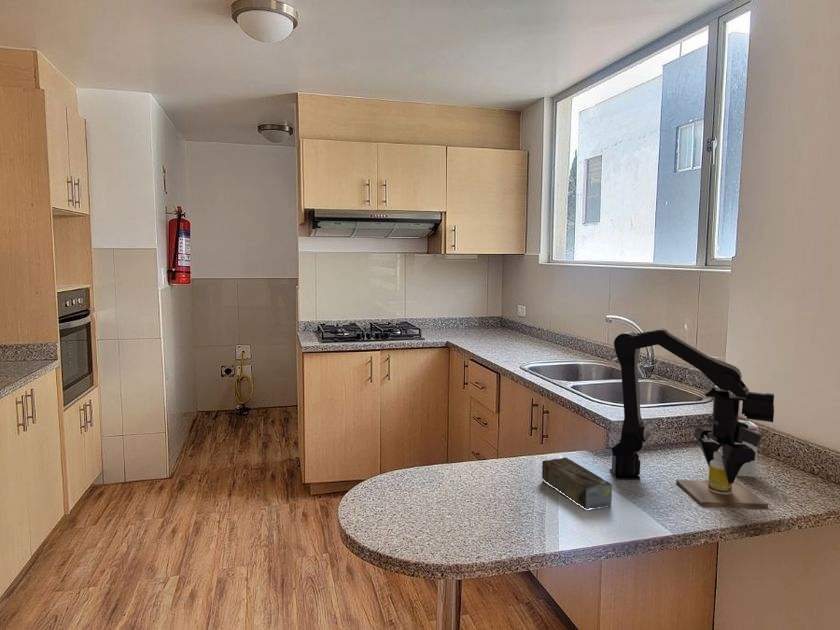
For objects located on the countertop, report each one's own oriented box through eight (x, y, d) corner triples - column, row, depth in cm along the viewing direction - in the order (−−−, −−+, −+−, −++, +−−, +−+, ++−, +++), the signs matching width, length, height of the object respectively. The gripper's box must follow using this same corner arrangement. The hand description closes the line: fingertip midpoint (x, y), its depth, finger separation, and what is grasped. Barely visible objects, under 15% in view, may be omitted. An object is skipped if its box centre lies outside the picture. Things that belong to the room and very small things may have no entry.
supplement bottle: (731, 497, 140) (733, 458, 139) (706, 492, 143) (709, 454, 142) (732, 490, 144) (735, 452, 143) (708, 485, 147) (711, 448, 146)
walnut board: (701, 506, 137) (701, 502, 136) (676, 483, 150) (676, 479, 150) (768, 507, 136) (768, 503, 136) (736, 485, 150) (737, 481, 150)
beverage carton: (584, 512, 132) (586, 485, 132) (539, 482, 150) (540, 458, 150) (612, 508, 135) (613, 481, 135) (565, 479, 153) (566, 455, 152)
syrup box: (756, 477, 156) (760, 426, 154) (733, 475, 157) (736, 424, 156) (748, 470, 161) (752, 420, 160) (726, 468, 162) (729, 419, 161)
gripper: (780, 427, 132) (775, 491, 134) (737, 406, 151) (733, 463, 152) (732, 426, 132) (728, 490, 134) (695, 405, 151) (691, 462, 152)
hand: (720, 475), depth 143 cm, fingers open, 9 cm apart
